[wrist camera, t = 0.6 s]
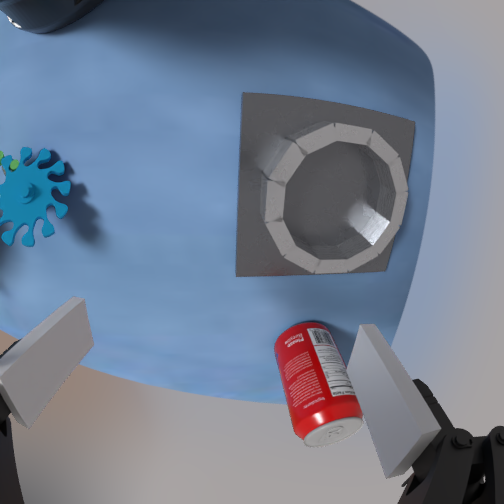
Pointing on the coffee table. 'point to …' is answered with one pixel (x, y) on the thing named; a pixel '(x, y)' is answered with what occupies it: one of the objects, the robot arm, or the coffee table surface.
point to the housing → (318, 186)
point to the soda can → (317, 385)
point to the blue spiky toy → (30, 194)
